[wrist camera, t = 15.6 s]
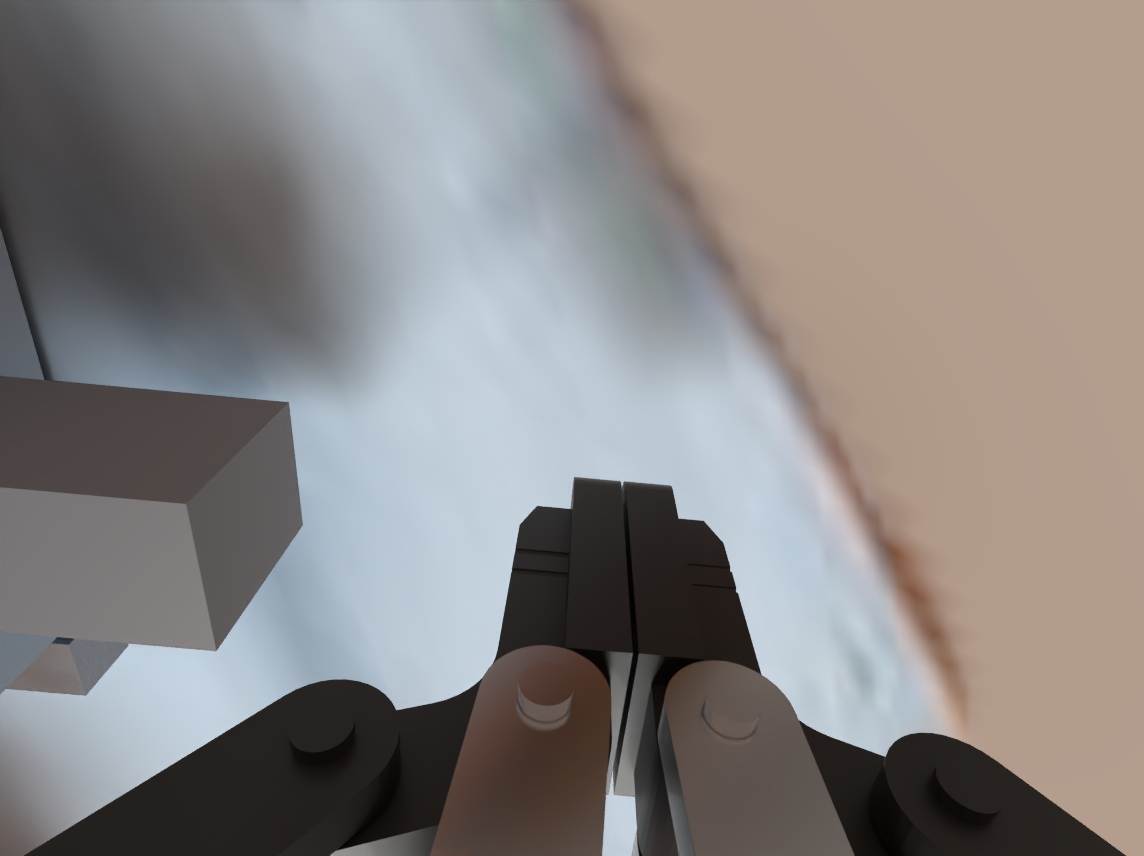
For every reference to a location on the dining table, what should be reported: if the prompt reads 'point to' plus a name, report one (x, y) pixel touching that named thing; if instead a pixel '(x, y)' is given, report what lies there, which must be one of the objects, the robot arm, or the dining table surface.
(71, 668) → the vise
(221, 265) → the dining table surface
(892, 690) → the dining table surface
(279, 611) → the dining table surface
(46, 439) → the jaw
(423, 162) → the dining table surface
